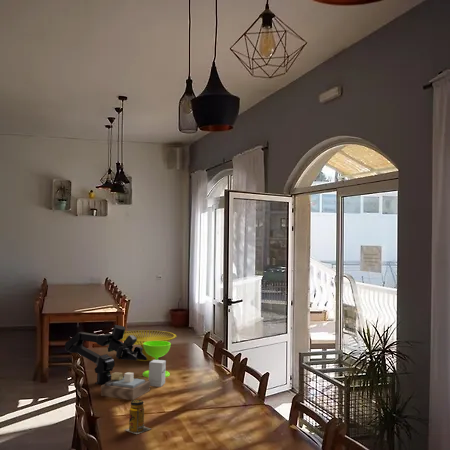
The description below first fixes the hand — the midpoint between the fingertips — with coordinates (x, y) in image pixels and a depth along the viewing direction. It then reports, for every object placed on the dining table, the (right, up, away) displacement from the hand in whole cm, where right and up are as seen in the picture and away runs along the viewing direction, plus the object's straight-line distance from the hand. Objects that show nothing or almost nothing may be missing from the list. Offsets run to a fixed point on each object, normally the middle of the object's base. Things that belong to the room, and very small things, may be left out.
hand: (141, 359), depth 287 cm
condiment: (+7, -16, -57) cm, 59 cm away
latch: (-12, -9, -3) cm, 16 cm away
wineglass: (+3, -17, +34) cm, 38 cm away
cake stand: (-9, -18, +74) cm, 77 cm away
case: (-7, -16, -5) cm, 18 cm away
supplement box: (+6, -17, +12) cm, 22 cm away
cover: (-6, -11, -5) cm, 14 cm away
